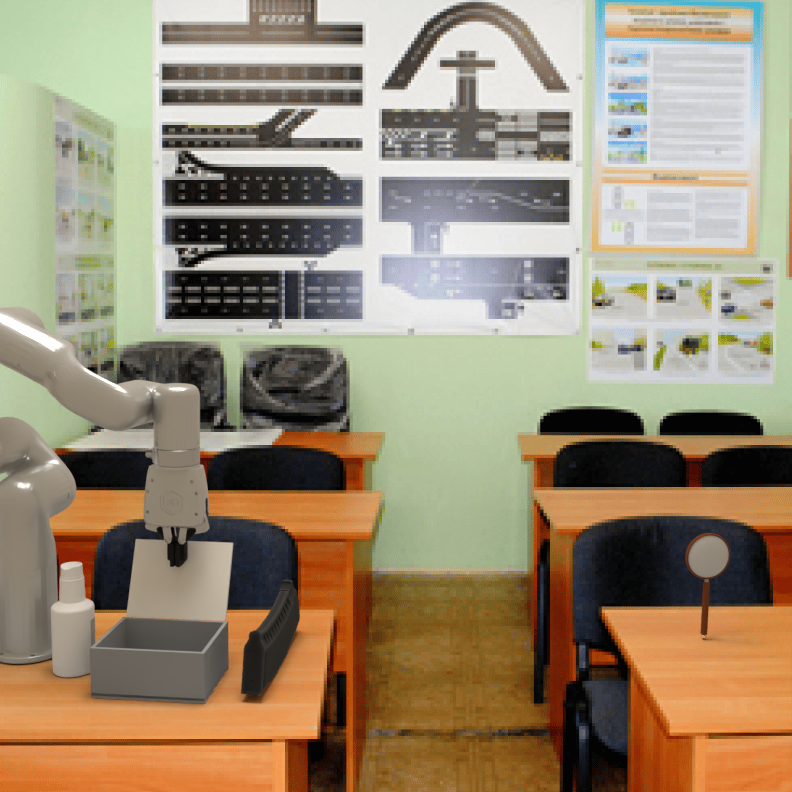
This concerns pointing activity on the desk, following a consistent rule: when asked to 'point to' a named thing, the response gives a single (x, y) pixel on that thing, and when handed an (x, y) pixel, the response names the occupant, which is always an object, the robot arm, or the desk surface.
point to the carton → (159, 660)
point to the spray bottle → (72, 624)
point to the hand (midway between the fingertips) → (177, 564)
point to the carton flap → (180, 581)
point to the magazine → (270, 642)
